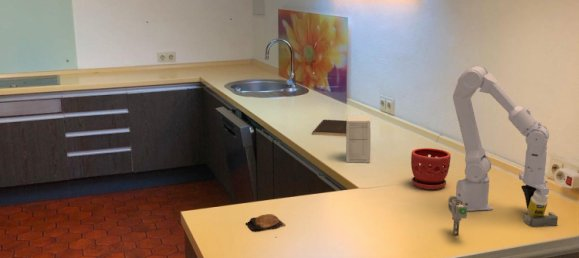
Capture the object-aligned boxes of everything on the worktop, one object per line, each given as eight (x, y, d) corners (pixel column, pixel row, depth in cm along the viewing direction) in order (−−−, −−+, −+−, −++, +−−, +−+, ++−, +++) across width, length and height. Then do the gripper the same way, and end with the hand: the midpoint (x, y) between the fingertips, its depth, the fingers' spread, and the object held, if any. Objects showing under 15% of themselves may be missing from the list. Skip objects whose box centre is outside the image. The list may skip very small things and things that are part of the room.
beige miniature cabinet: (369, 156, 250) (370, 115, 246) (370, 163, 241) (371, 120, 237) (345, 155, 251) (346, 115, 247) (345, 162, 242) (346, 120, 238)
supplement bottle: (532, 222, 184) (539, 199, 180) (522, 212, 188) (529, 190, 184) (546, 219, 185) (553, 197, 181) (536, 210, 189) (543, 187, 185)
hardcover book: (355, 125, 301) (355, 121, 300) (347, 137, 279) (347, 132, 279) (322, 124, 305) (322, 119, 304) (312, 135, 283) (312, 130, 283)
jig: (530, 227, 180) (531, 219, 180) (523, 221, 184) (524, 213, 184) (558, 225, 181) (559, 217, 181) (551, 219, 185) (551, 211, 185)
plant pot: (449, 192, 208) (451, 158, 205) (409, 190, 211) (411, 156, 208) (448, 180, 221) (449, 147, 218) (410, 178, 223) (411, 145, 220)
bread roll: (275, 218, 190) (275, 207, 189) (287, 228, 182) (287, 216, 182) (242, 224, 185) (242, 213, 184) (254, 235, 178) (253, 223, 177)
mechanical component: (455, 227, 181) (457, 194, 178) (466, 242, 171) (468, 207, 168) (445, 227, 181) (447, 194, 178) (455, 242, 171) (458, 208, 168)
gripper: (560, 173, 179) (555, 217, 182) (535, 158, 193) (531, 199, 196) (537, 174, 178) (532, 218, 181) (514, 159, 192) (510, 201, 195)
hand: (530, 209), depth 189 cm, fingers closed
